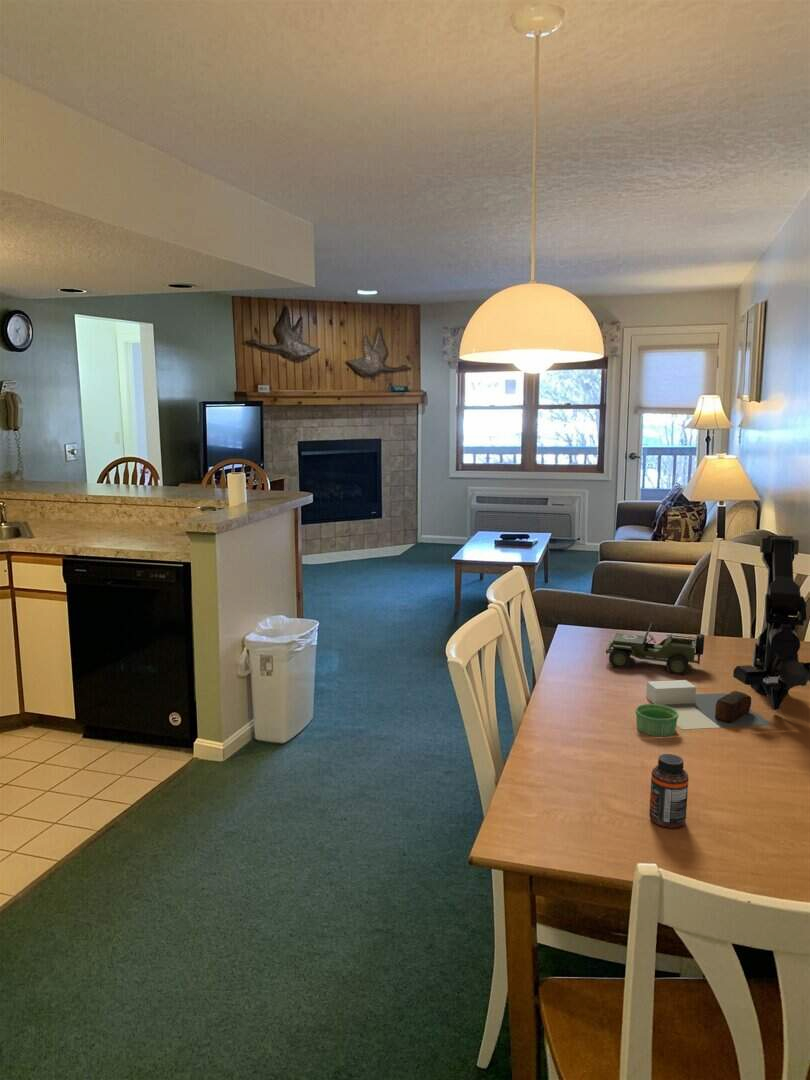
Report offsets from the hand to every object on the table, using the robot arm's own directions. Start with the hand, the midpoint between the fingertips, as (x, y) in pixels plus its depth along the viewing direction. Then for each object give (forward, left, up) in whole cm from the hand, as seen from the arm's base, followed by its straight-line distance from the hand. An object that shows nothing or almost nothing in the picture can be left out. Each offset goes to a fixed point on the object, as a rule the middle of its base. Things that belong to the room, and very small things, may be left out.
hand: (774, 709), depth 180 cm
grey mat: (+14, -4, -1) cm, 15 cm away
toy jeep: (+12, -37, -2) cm, 39 cm away
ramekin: (+31, +5, -2) cm, 31 cm away
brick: (+10, 0, -1) cm, 10 cm away
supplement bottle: (+46, +42, -2) cm, 62 cm away
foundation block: (+20, -11, -1) cm, 23 cm away
